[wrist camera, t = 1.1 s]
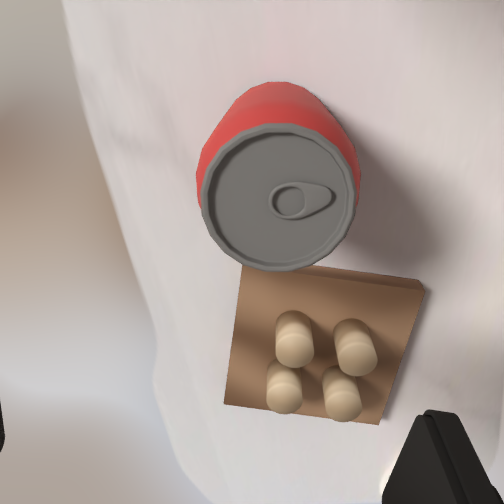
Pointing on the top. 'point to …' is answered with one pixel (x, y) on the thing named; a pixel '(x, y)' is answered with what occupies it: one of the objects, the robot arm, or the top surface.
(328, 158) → the beer can
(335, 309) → the peg stand
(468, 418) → the top surface
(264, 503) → the top surface
